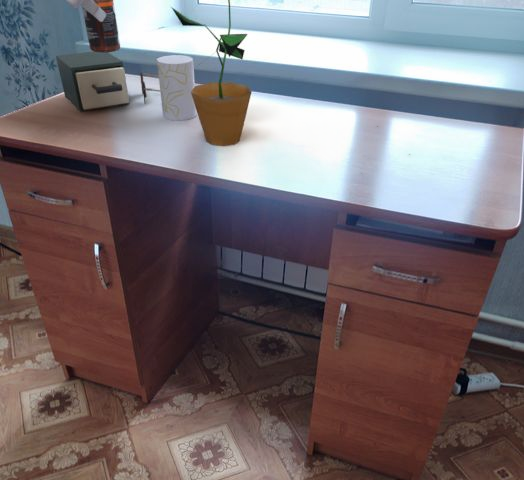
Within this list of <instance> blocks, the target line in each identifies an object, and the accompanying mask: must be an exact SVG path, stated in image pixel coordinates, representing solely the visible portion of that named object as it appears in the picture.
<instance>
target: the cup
mask: <svg viewBox="0 0 524 480" xmlns="http://www.w3.org/2000/svg"><path fill="white" fill-rule="evenodd" d="M156 65H157V76H159V77H158V82H159V90H160V92H159V93H160V100H161V109H162V117H163V118H165V119H167V120H169V121H189V120H192V119H194V118H196V117H197V116H198V113H197V110H196V107H195V104H194V101H193V98H192V95H191V91H192V90H193V88H194V87H195V86H196V85H195V71H194V70H195V69H194V58H193V57H192V56H188V55H180V54H170V55H169V54H168V55H163V56H159V57H158V58H156Z"/></svg>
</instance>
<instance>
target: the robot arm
mask: <svg viewBox="0 0 524 480" xmlns="http://www.w3.org/2000/svg"><path fill="white" fill-rule="evenodd" d="M65 2H67V3H68V4H69V5H70V6H71V7H72V8H74V9H76V10H78V9H79V8H80V7H81V8H82V7H83V8H84V9H85V10H87V11H88V12H89V13H91V14H92V15H93V16H94V17H96V18H97V19H98V20H99V21H100V22H102V21H103V20H104V19H105V17H106V13H105V12H104V11H103V10H102V9H101V8H100V7H99V6H98V5H97V4H96V3H95V2H94V1H93V0H65Z"/></svg>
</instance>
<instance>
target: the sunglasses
mask: <svg viewBox="0 0 524 480" xmlns="http://www.w3.org/2000/svg"><path fill="white" fill-rule="evenodd" d="M139 75H140V85H141V94H142V96H143V102H144V103H143V104H146V98H147V91H148V92H149V91H150V92H158V93H161V92H160V89H155V88H154V89H153V88H149V87H148V88H147V87H146V82H145V81H144V76H145V77H156V78H159V75H158V74H157V75H156V74H148V73H142V72H140V73H139Z"/></svg>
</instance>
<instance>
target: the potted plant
mask: <svg viewBox="0 0 524 480" xmlns="http://www.w3.org/2000/svg"><path fill="white" fill-rule="evenodd" d="M227 3H228V30H227V34H219V37H220V38H218V37H217V36H216V35H215V33H214V32H212V30H211V29H210V28H208V26H207V25H206V24H205V23H204V24H203V23H201V22H197V21H195V20H193V19H191V18H189V17H187V16H186V15H184V14H182V12H179V10H176V9H175V8H173V7H172V6H170V8H171V9H172V11H173V12H174V14H175V15H176V17H177V19H178V20H179V22H180V23H181V25H182V26H186V27H187V26H188V27H205V28H206V29H207V30H208V32H209V33H210V34H211V35H212V36H213V38H214V39H215V40H216V41H217V42H218V44H217V46H216V49H215V53H216V55H217V57H218V59H219V62H220V65H221V69H220V75H219V79H218V82H217V81H215V82H208V83H207V82H206V83H202V84H199V85H195V87H194V88H193V90H192V91H191V95H192V98H193V101H194V104H195V107H196V111H197V116H198V119H199V122H200V126H201V129H202V132H203V135H204V138H205V141H206V142H207V143H208V144H209V145H212V146H220V147H226V146H227V147H228V146H233V145H236V144H237V143H238V142H240V141H241V137H242V132H243V129H244V125H245V121H246V117H247V113H248V109H249V104H250V100H251V96H252V92H253V91H252V90H251V89H250V88H249V86H248V85H244V84H242V83H241V84H240V83H235V82H232V81H229V82H226V81H225V82H224V81H223V76H224V69H225V63H226V59H227V56H228V58H230V57H234V58H236V59H239V60H243V59H244V55H245V51H246V49H243V48H241V47H239V46H240V45H241V44H242V43H243V41H244V40H245V39H246V37H247V36H248V33H231V26H232V17H231V0H227ZM220 53H222V54H223V58H221V56H220ZM213 55H214V53H213V54H211V56H213ZM209 58H210V56H208V57H207V59H209ZM222 59H223V60H222ZM204 61H206V59H205V60H203V61H202V63H204ZM199 65H201V63H198V66H199Z"/></svg>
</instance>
